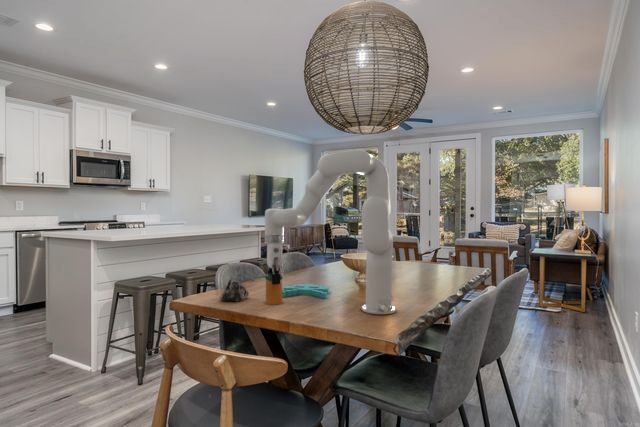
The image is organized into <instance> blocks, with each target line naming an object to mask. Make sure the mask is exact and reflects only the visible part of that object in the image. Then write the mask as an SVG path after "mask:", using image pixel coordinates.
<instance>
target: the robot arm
mask: <svg viewBox="0 0 640 427" xmlns="http://www.w3.org/2000/svg"><path fill="white" fill-rule="evenodd" d="M351 174H359V175H362V176H363V177H365V182H366V184H365V185H366V186H365V189H366V200H365V201H364V202H363V203H362V206H361V242H362V245H363V247H364V249H365V250H366V258H365V259H366V263H365V264H366V265H365V267H366V268H365V304H363V305H361V311H362V312H364V313H365V314H371V315H391V314H394V313H396V310H397V308H396V307H395V306H393V305H392V303H393V302H392V296H393V295H392V292H393V290H392V289H393V288H392V286H393V250H394V237H393V234H392V232H391V230H390V215H391V211H392V209H391V208H392V207H391V192H390V179H389V178H390V177H389V171H388V169H387V166H386V165H385V163H384V162H383V161H382V160H381V159H379V158H378V157H377V156H374V155H372V154H371V153H369V152H368V151H367V150H365V149H362V148H361V149H360V148H356V149H350V150H344V151H337V152H331V153H326V154H324V155H322V156H321V157H320V158H319V159H318V161H317V170H316V171H315V172H314V173H313V175H312V176H311V177H310V179H309V180H308V181H307V182H306V184H305V191H304V194H303V196H302V198H301V200H300V201H299V202H298V203H297V205H296V206H295V207H293V208H283V209H282V208H267V209H265V211H264V244H266V266H267V274H272V284H280V274H281V269H283V267H284V262H283V261H284V260H283V257H284V256H283V244H284V238H285V237H284V232H285V231H284V230H285V229H284V228H290V229H291V228H298V227H302V226H303V225H305V224H306V223H307V221H308V220H309V219H310V218H311V216H313V214H314V213H315V212H316V210H317V209H318V208H319V206H320V204H321V202H322V201H323V199H324V197H325V196H326V195H327V194H328V192H329V191H330V190H331V189H332V188H333V186H334V185H335V184H336V183H337V182H338V180H339V179H340V178H341V177H342V176H345V175H351Z"/></svg>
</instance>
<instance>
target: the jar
mask: <svg viewBox="0 0 640 427" xmlns="http://www.w3.org/2000/svg"><path fill="white" fill-rule="evenodd" d="M282 291H283V279H282V280H280V284H272V281H271V280H266V279H265V304H268V305H280V304H282V303H283V297H282Z"/></svg>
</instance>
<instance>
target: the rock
mask: <svg viewBox="0 0 640 427" xmlns="http://www.w3.org/2000/svg"><path fill="white" fill-rule="evenodd" d="M249 295H250V293H249V291H248V290H247V287H246V286H245V285H244V284H243V283H242V282H241V281H240V280H238V281H237V280H234V279H231V278H230V279H229V280H228V282H227V285H226V286H225V288H224V290H223V292H222V293H221V294H220V296H219V299H220V301H223V302H238V301H240V302H242V301H244V300H245V299H246V298H248V297H249Z"/></svg>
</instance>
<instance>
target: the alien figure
mask: <svg viewBox="0 0 640 427" xmlns="http://www.w3.org/2000/svg"><path fill="white" fill-rule="evenodd" d="M329 293H330V287H328V286H324V285H321V284H320V285H319V284H316V283H301V284H295V285H294V284H293V285H285V286H284V287H283V290H282V298H286V297H292V296H298V295H302V296H303V295H305V296H306V295H307V296H308V295H309V296H311V297H316V298H320V299H328V295H329Z"/></svg>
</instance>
